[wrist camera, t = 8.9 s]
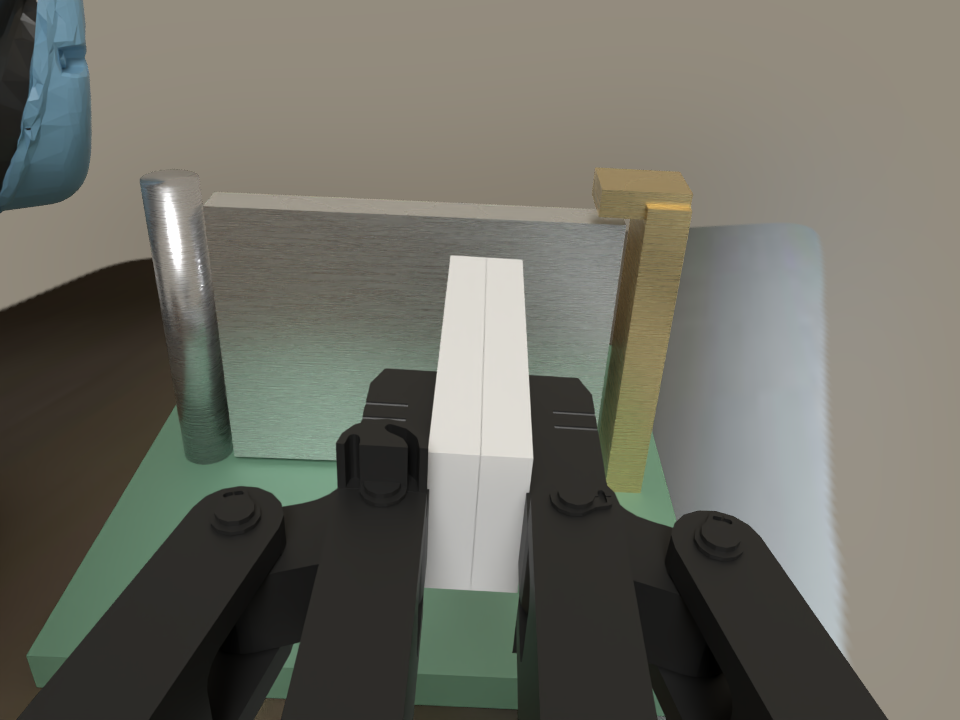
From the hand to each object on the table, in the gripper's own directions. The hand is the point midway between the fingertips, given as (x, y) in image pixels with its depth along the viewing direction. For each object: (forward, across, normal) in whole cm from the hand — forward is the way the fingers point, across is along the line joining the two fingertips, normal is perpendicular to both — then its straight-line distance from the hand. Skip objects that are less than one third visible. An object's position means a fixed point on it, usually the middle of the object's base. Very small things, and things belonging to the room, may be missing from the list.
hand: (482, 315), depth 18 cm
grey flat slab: (+13, -2, -14) cm, 19 cm away
